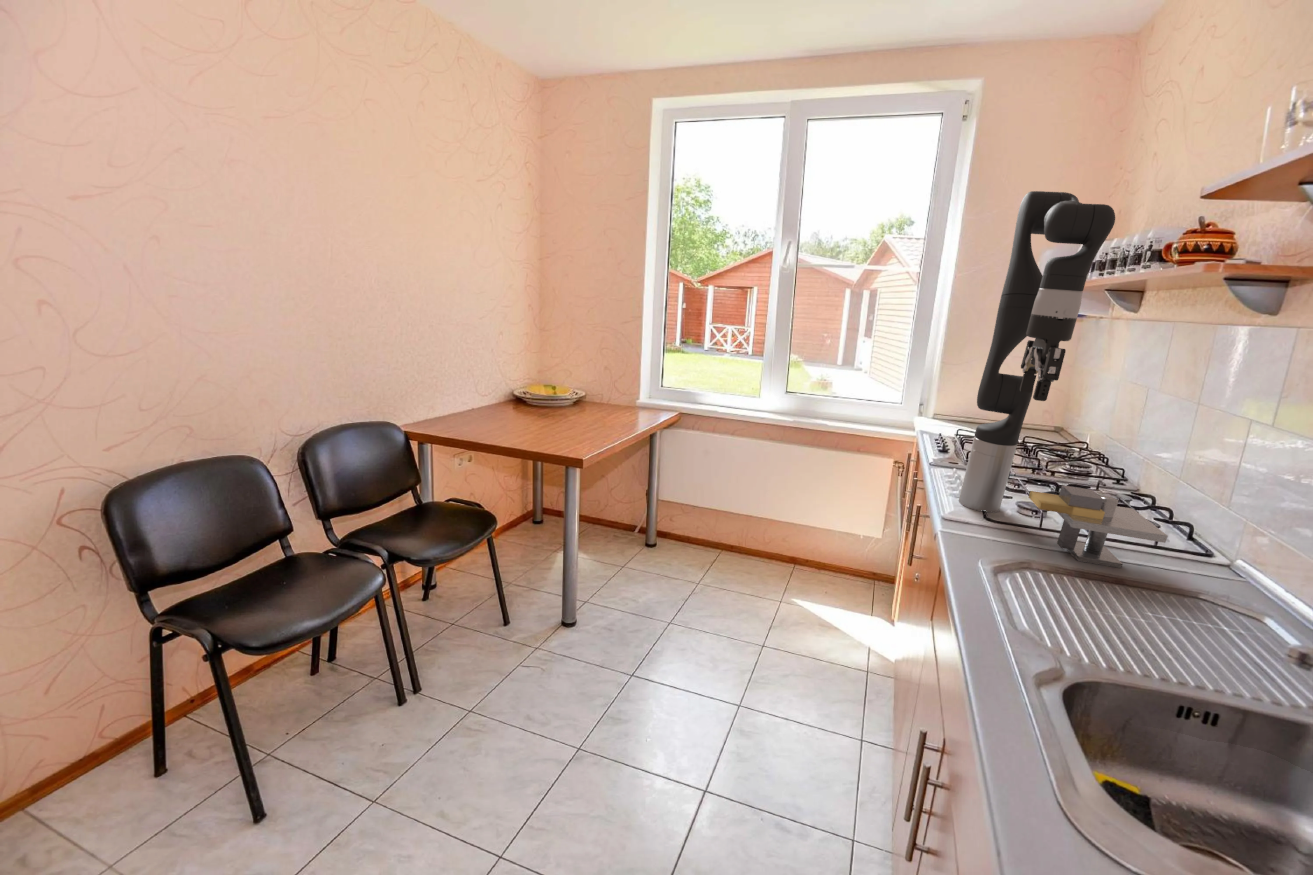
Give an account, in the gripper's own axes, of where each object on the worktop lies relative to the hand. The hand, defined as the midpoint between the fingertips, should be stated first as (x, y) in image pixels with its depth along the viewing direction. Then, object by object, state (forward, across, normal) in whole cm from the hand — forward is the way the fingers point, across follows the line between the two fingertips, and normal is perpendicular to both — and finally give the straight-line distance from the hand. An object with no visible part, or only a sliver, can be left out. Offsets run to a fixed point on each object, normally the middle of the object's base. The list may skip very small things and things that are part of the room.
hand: (1032, 396), depth 117 cm
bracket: (+23, -1, +12) cm, 25 cm away
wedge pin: (+31, -1, +14) cm, 34 cm away
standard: (+32, -1, +19) cm, 37 cm away
